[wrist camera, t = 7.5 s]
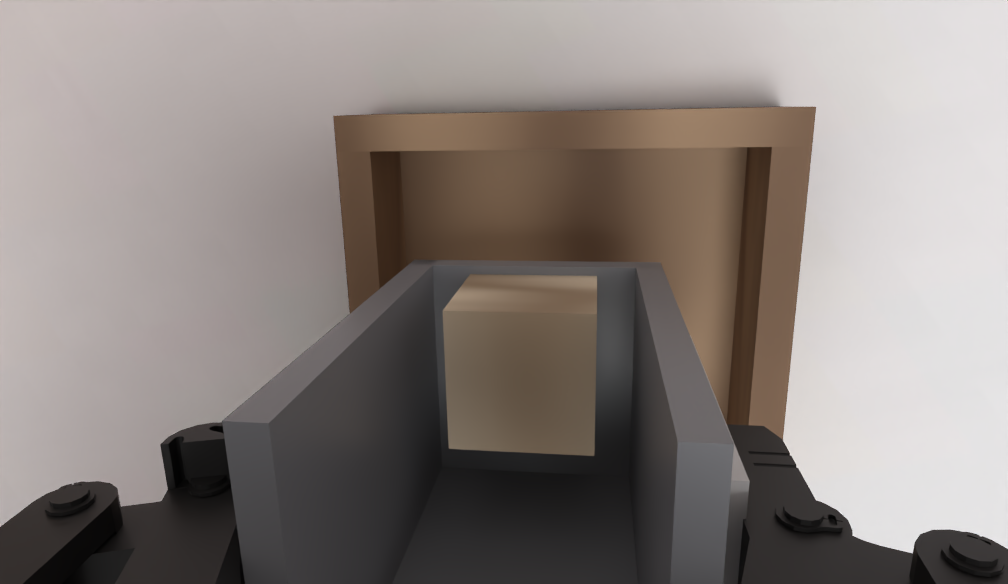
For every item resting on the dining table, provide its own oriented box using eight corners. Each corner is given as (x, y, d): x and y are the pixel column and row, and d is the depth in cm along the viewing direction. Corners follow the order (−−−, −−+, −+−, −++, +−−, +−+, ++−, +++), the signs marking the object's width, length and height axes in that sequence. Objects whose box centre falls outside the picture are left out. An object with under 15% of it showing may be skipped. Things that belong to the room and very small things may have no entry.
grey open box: (426, 474, 18) (275, 799, 10) (414, 259, 17) (222, 421, 8) (650, 486, 18) (701, 852, 9) (660, 262, 16) (733, 444, 7)
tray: (399, 509, 26) (370, 568, 23) (372, 114, 22) (333, 116, 19) (743, 531, 25) (767, 597, 21) (780, 106, 21) (816, 106, 17)
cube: (474, 390, 17) (448, 448, 14) (470, 274, 16) (442, 310, 13) (594, 395, 16) (594, 456, 14) (597, 276, 16) (597, 314, 13)
